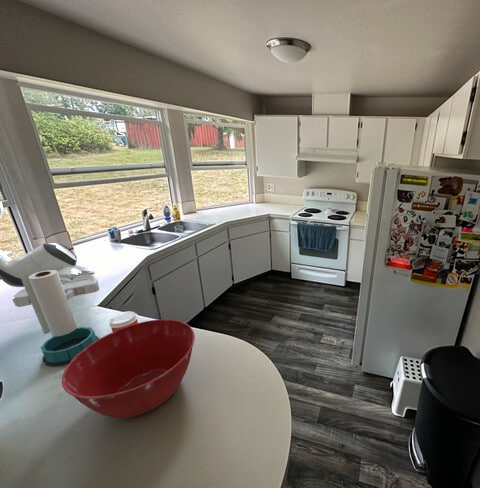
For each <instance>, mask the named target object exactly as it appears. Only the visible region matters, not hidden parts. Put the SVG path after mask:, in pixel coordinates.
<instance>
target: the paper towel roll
mask: <svg viewBox="0 0 480 488" xmlns="http://www.w3.org/2000/svg"><path fill="white" fill-rule="evenodd" d="M20 278H21V280H22V282H23V285H24V287H23V288H24V289H26V292H27V294H28V296H29V299H30V301H31V304H32V305H31V306H32V308H33V311H34V313H35V315H36V318H37V320H38V322H39V324H40V327H41V330H42V332H43V334H44V335H45V334H48V333H50V334H51V336H52V337H53V336H62V335H66V334H68V333H70V332H72V331H74V330H75V329H76V328H78V324H77V322H76V319H75V316H74V314H73V313H74V312H73V311H72V308H71V305H70V303H69V300H68V301H66V299H67V298H65V297H66V294H65V291H64V288H63V286H62V283H61V280H60V277H59V275H58V272H57V271H56V270H46V271H41V272H36V273H33V274H29V275H26V276H21V277H20Z"/></svg>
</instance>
